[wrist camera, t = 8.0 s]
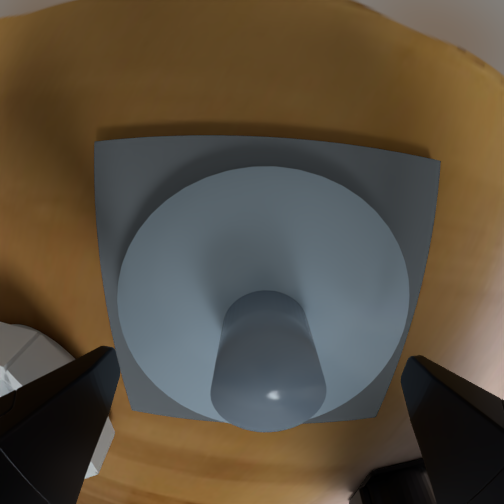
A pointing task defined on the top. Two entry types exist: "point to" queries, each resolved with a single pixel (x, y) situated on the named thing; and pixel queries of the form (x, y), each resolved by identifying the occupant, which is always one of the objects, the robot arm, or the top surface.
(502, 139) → the top surface
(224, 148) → the plate
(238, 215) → the lid
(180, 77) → the top surface
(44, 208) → the top surface
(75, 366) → the robot arm
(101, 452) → the bowl
